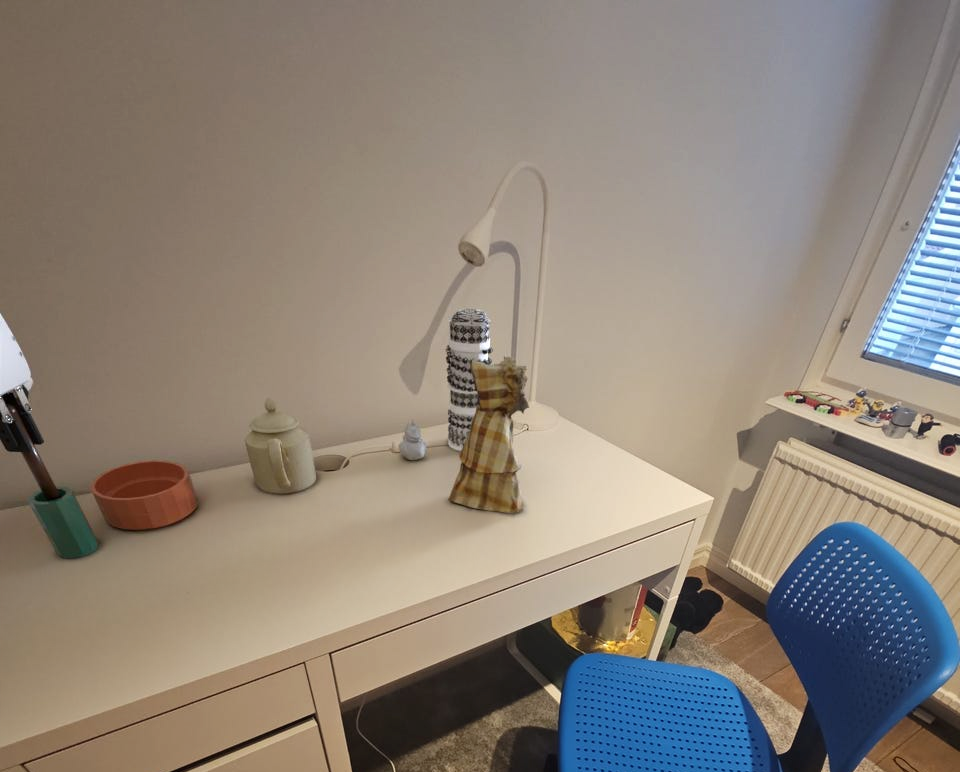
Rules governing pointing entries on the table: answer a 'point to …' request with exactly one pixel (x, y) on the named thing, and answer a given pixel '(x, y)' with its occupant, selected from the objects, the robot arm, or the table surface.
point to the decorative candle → (465, 370)
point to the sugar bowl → (280, 452)
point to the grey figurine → (412, 443)
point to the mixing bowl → (144, 494)
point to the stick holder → (64, 523)
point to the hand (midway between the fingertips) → (25, 446)
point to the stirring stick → (36, 463)
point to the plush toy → (492, 440)
